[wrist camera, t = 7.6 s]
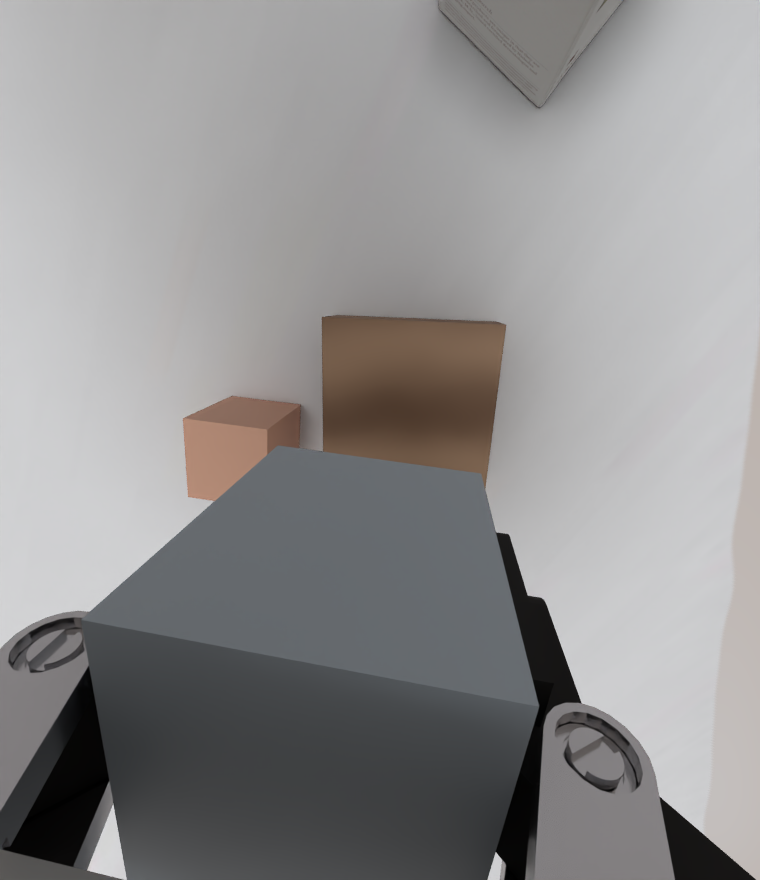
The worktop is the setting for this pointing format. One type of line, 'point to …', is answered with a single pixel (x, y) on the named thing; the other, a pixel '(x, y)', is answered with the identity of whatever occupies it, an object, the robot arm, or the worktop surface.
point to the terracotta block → (234, 441)
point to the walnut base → (411, 389)
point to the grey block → (316, 680)
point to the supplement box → (531, 36)
